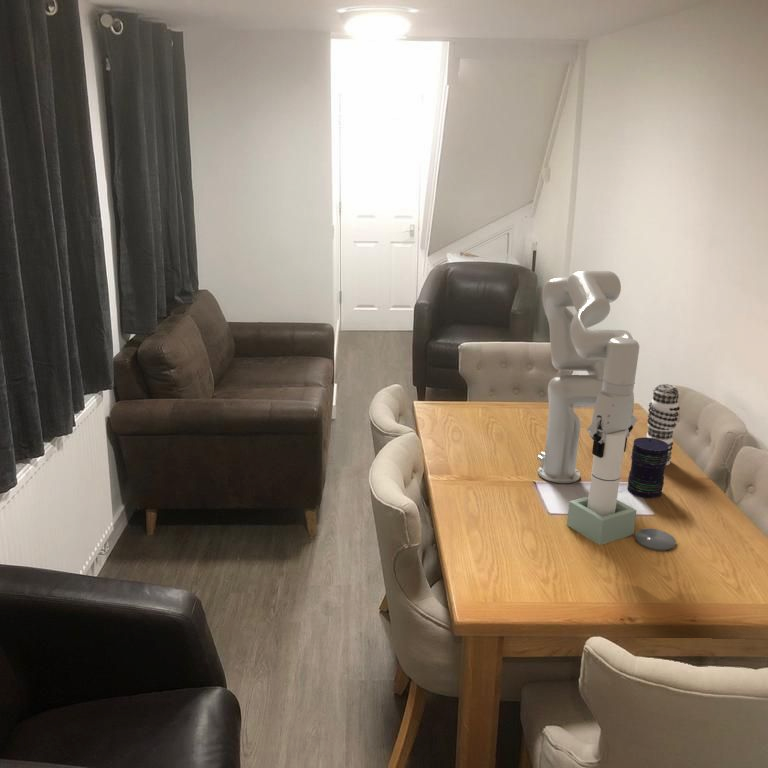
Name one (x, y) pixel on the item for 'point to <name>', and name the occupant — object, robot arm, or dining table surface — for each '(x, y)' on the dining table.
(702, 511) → the dining table surface
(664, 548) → the grey round disc
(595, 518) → the collar
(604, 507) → the cylindrical container
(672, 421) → the decorative candle
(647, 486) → the storage jar
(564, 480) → the robot arm
